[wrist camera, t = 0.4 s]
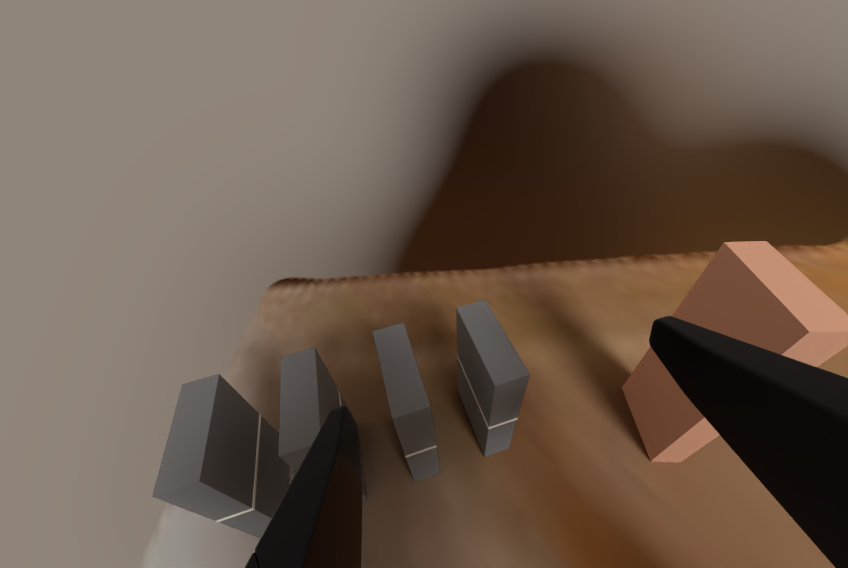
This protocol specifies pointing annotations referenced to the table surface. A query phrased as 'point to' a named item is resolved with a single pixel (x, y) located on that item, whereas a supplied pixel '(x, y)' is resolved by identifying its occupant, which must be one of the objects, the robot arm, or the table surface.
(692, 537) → the table surface
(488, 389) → the domino
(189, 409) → the domino
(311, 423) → the domino
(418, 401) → the domino
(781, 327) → the domino
